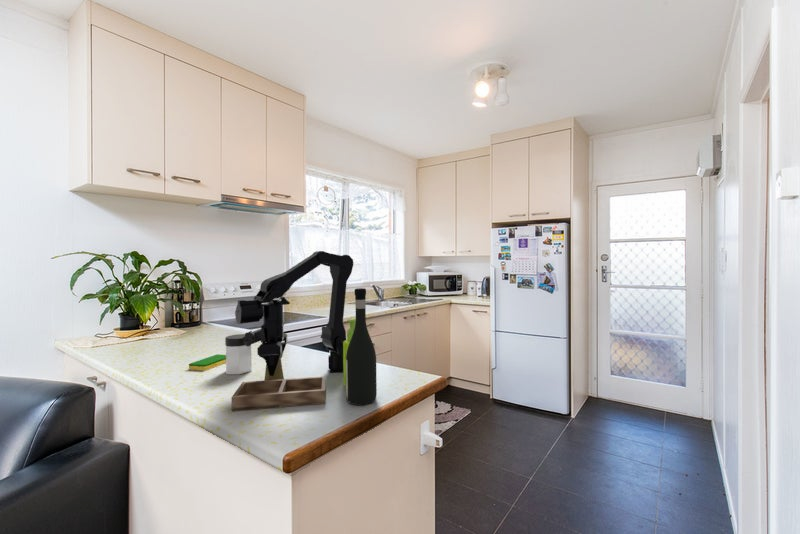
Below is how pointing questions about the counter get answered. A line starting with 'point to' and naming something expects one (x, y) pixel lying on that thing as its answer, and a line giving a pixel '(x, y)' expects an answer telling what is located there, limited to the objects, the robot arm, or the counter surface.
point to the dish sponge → (208, 362)
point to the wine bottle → (361, 358)
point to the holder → (279, 393)
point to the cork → (277, 374)
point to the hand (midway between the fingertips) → (274, 371)
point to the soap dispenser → (347, 344)
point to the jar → (237, 355)
